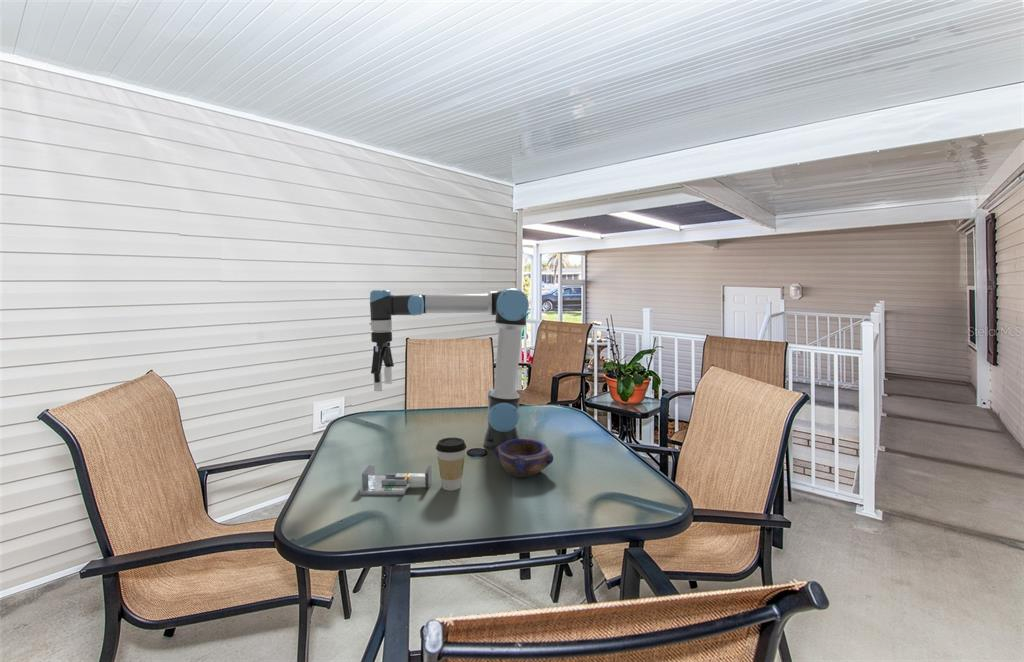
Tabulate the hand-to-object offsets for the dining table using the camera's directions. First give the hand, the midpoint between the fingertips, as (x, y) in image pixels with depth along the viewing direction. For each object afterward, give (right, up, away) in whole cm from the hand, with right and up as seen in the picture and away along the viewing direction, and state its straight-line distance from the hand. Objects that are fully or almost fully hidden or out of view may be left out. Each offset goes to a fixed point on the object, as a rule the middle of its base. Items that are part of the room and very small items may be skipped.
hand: (383, 387), depth 174 cm
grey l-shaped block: (+8, -30, -24) cm, 39 cm away
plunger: (+16, -29, -25) cm, 42 cm away
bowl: (+53, -29, -13) cm, 62 cm away
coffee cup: (+29, -30, -24) cm, 48 cm away
